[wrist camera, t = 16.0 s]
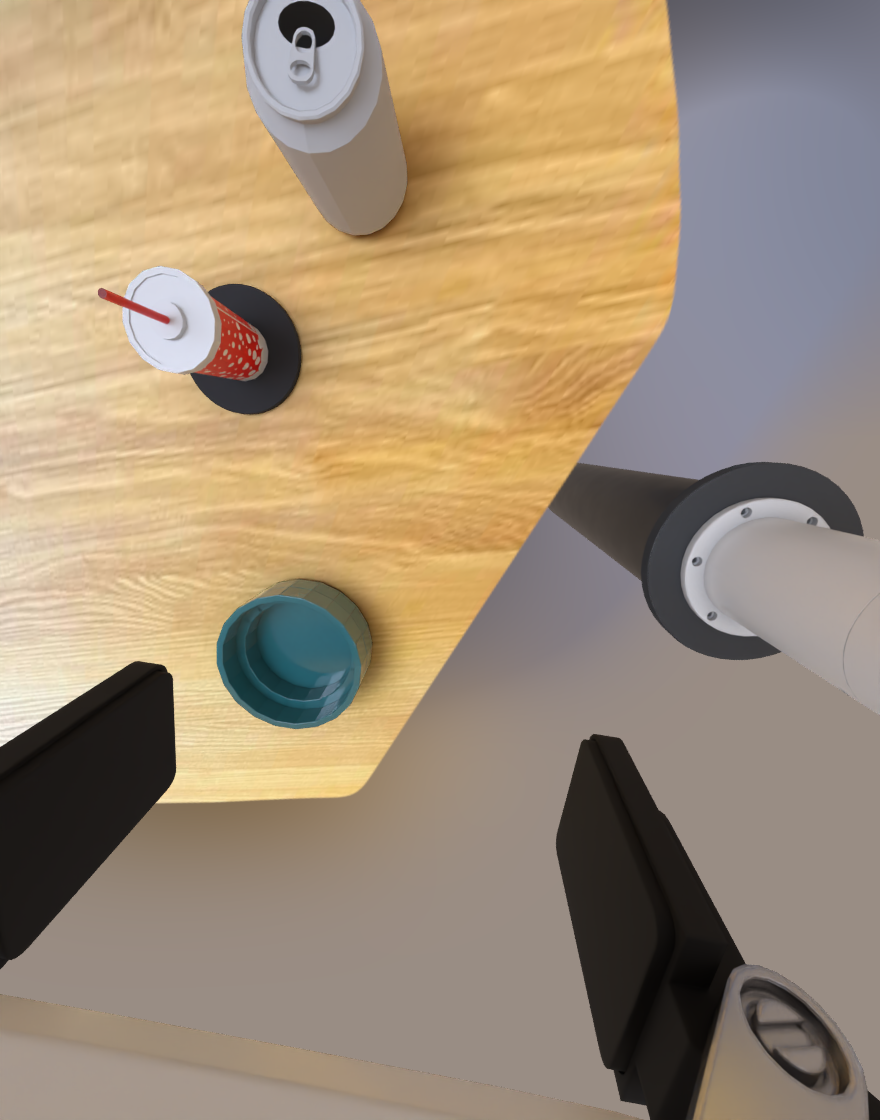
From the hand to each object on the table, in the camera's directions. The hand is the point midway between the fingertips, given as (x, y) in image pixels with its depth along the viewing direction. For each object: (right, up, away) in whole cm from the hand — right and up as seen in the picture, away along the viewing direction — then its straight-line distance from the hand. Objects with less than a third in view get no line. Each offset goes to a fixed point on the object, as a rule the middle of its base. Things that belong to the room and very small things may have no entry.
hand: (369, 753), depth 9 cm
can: (-5, +33, +23) cm, 41 cm away
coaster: (-15, +22, +27) cm, 38 cm away
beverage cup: (-15, +22, +26) cm, 37 cm away
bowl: (-12, -4, +33) cm, 35 cm away
